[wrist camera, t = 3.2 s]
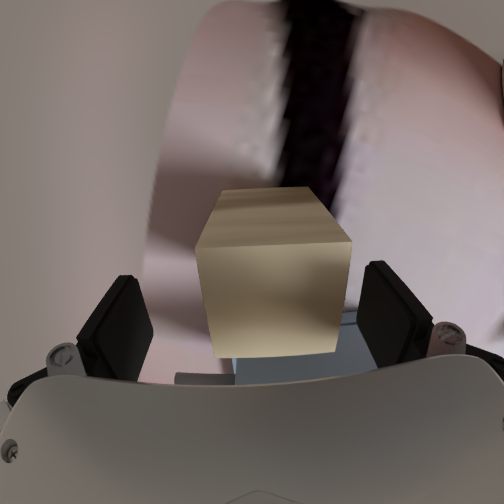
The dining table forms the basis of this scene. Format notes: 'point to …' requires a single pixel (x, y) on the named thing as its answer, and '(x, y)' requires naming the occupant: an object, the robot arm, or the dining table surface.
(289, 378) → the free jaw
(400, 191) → the dining table surface
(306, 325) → the maple block
